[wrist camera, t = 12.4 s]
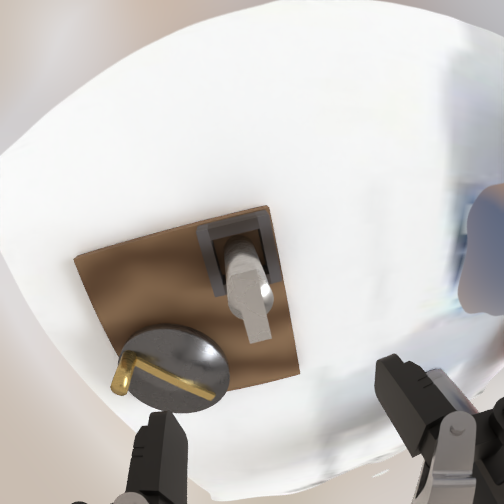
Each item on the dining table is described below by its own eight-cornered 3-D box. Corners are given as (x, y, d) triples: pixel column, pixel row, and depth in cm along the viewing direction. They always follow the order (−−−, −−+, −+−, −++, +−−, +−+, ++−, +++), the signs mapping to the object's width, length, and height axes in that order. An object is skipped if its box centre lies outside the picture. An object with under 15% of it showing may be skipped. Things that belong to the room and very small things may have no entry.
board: (297, 367, 34) (304, 385, 31) (147, 396, 34) (143, 415, 30) (266, 205, 27) (273, 212, 24) (78, 255, 27) (64, 267, 24)
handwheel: (148, 302, 27) (133, 342, 20) (250, 356, 30) (259, 400, 24) (107, 374, 29) (92, 414, 23) (195, 416, 32) (194, 456, 26)
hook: (259, 269, 28) (282, 335, 18) (230, 276, 28) (238, 346, 18) (248, 221, 27) (268, 266, 16) (217, 228, 26) (218, 278, 16)
